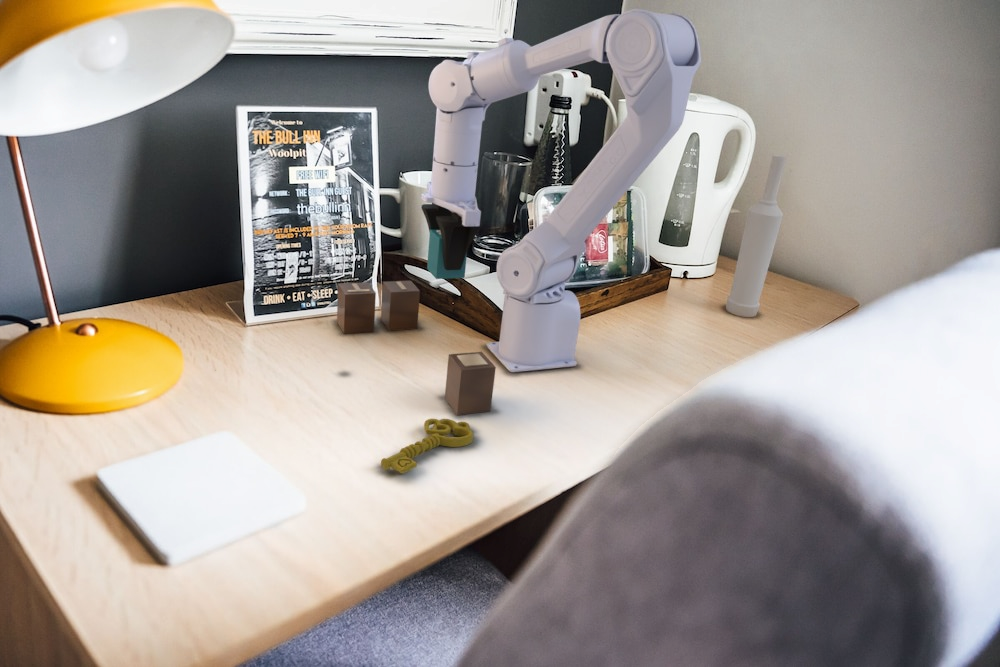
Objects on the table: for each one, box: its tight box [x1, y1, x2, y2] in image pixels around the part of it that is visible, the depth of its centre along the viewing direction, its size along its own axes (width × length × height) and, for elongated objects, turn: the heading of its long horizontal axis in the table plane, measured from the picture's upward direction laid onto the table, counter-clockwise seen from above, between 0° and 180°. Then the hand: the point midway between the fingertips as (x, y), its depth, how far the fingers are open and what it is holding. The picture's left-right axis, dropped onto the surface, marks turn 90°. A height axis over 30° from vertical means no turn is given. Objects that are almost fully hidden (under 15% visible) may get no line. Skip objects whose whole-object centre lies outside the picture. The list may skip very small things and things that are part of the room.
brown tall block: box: [444, 351, 496, 416], centre depth 85 cm, size 4×4×6 cm
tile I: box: [380, 280, 421, 332], centre depth 103 cm, size 4×4×6 cm
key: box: [380, 418, 474, 474], centre depth 77 cm, size 12×1×5 cm
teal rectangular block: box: [426, 230, 468, 280], centre depth 102 cm, size 4×4×6 cm
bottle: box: [725, 154, 788, 318], centre depth 119 cm, size 5×5×25 cm
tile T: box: [336, 281, 377, 335], centre depth 101 cm, size 4×4×6 cm
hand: (446, 263), depth 103 cm, fingers closed on teal rectangular block, 4 cm apart
